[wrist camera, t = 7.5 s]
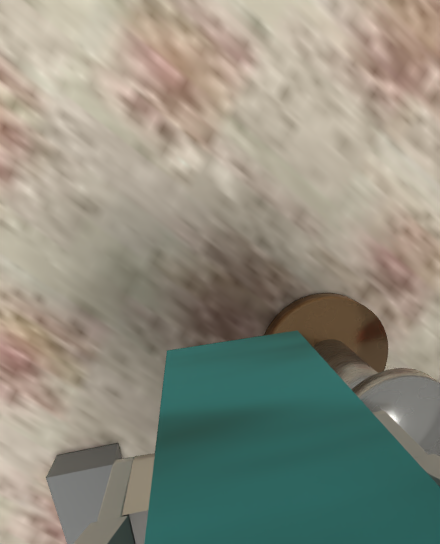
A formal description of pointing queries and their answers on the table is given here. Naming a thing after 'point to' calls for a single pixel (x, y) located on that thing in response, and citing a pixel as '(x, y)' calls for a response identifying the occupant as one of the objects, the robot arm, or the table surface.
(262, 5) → the table surface
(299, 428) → the block
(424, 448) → the bobbin post
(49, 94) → the table surface
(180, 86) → the table surface
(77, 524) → the notched board
